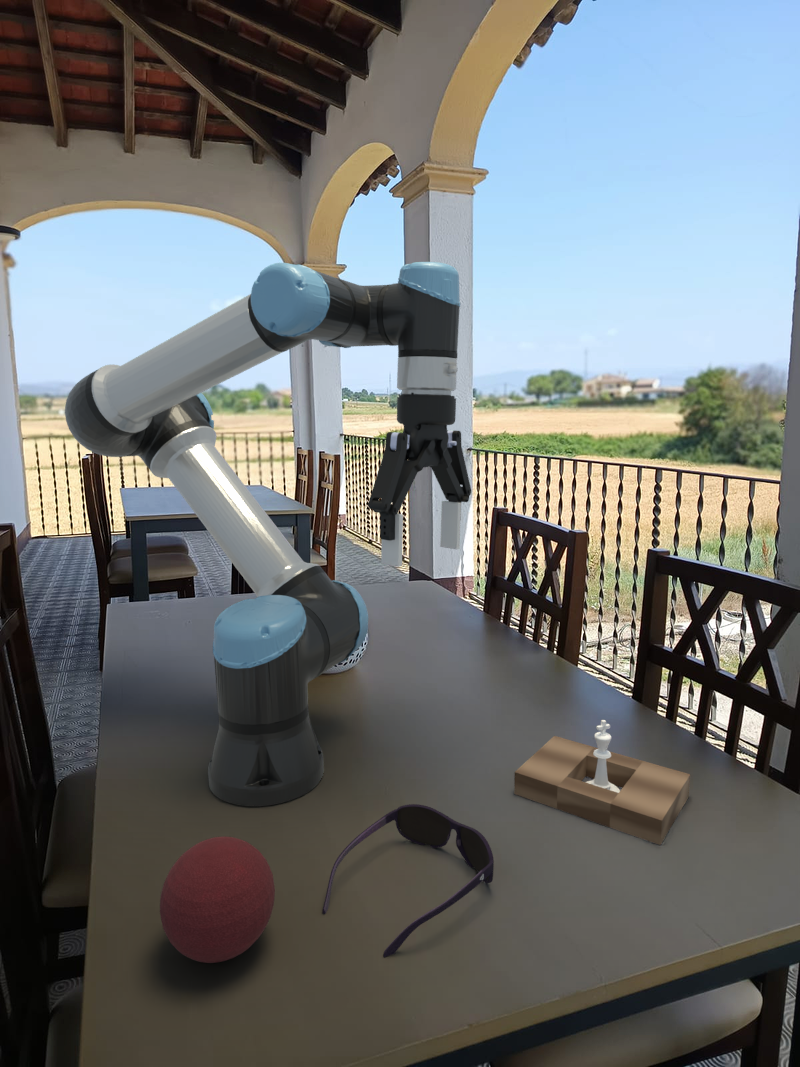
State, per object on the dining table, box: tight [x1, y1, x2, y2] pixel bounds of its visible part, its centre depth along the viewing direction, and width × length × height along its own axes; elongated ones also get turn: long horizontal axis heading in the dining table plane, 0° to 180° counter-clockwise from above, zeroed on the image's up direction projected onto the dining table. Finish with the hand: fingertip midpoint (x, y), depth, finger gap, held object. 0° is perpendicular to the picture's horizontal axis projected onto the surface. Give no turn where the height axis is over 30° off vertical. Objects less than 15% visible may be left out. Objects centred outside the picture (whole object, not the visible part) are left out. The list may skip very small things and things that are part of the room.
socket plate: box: [513, 735, 691, 846], centre depth 86 cm, size 12×18×3 cm, turn 53°
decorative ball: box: [159, 836, 276, 964], centre depth 61 cm, size 10×10×10 cm
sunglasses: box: [322, 803, 495, 958], centre depth 69 cm, size 14×16×5 cm
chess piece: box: [585, 719, 621, 793], centre depth 85 cm, size 5×5×10 cm
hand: (422, 556), depth 91 cm, fingers open, 13 cm apart
